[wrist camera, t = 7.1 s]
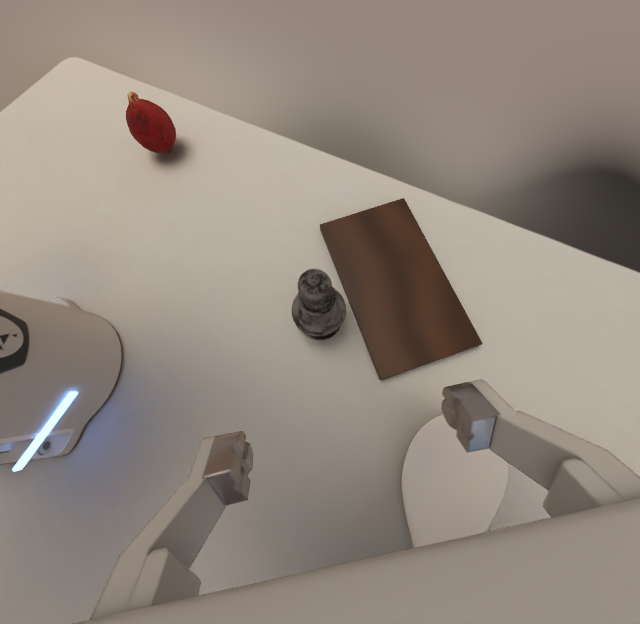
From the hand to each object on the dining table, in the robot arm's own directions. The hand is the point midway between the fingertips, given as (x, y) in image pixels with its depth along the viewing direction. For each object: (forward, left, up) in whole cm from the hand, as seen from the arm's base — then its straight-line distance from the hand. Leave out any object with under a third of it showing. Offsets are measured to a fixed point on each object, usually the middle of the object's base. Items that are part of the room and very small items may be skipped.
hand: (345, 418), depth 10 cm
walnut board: (+11, +11, -18) cm, 24 cm away
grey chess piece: (+1, +9, -19) cm, 21 cm away
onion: (-13, +43, -19) cm, 49 cm away
